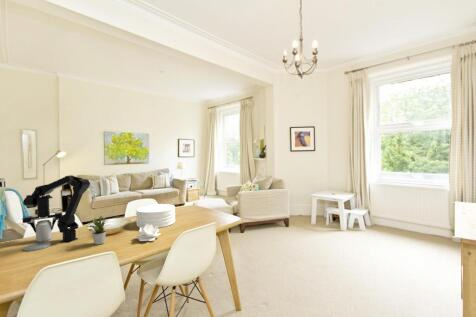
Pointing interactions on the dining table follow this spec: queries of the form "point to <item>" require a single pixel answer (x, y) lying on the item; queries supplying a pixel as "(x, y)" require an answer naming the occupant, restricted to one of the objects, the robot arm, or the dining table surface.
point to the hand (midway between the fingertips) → (43, 231)
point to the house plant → (98, 230)
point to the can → (43, 230)
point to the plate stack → (155, 215)
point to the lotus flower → (148, 233)
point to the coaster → (37, 246)
